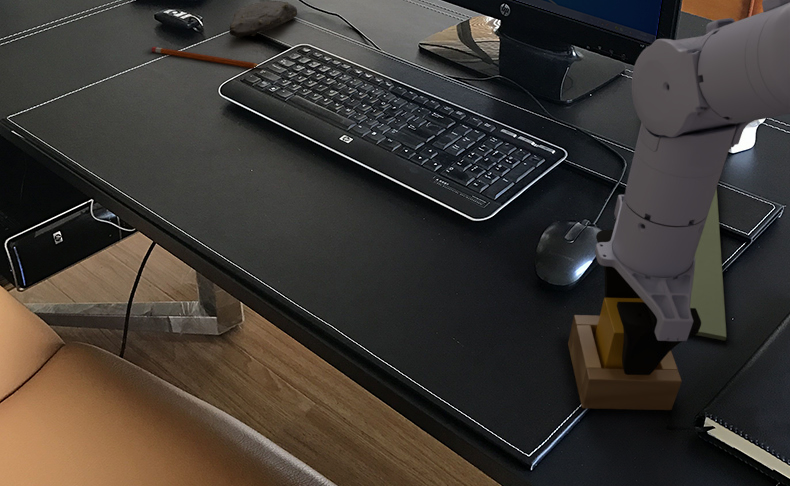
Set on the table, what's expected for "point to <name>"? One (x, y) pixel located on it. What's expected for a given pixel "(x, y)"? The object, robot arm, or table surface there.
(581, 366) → the stand
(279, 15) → the stone
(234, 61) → the pencil
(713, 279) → the mat
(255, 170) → the table surface
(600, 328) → the block
